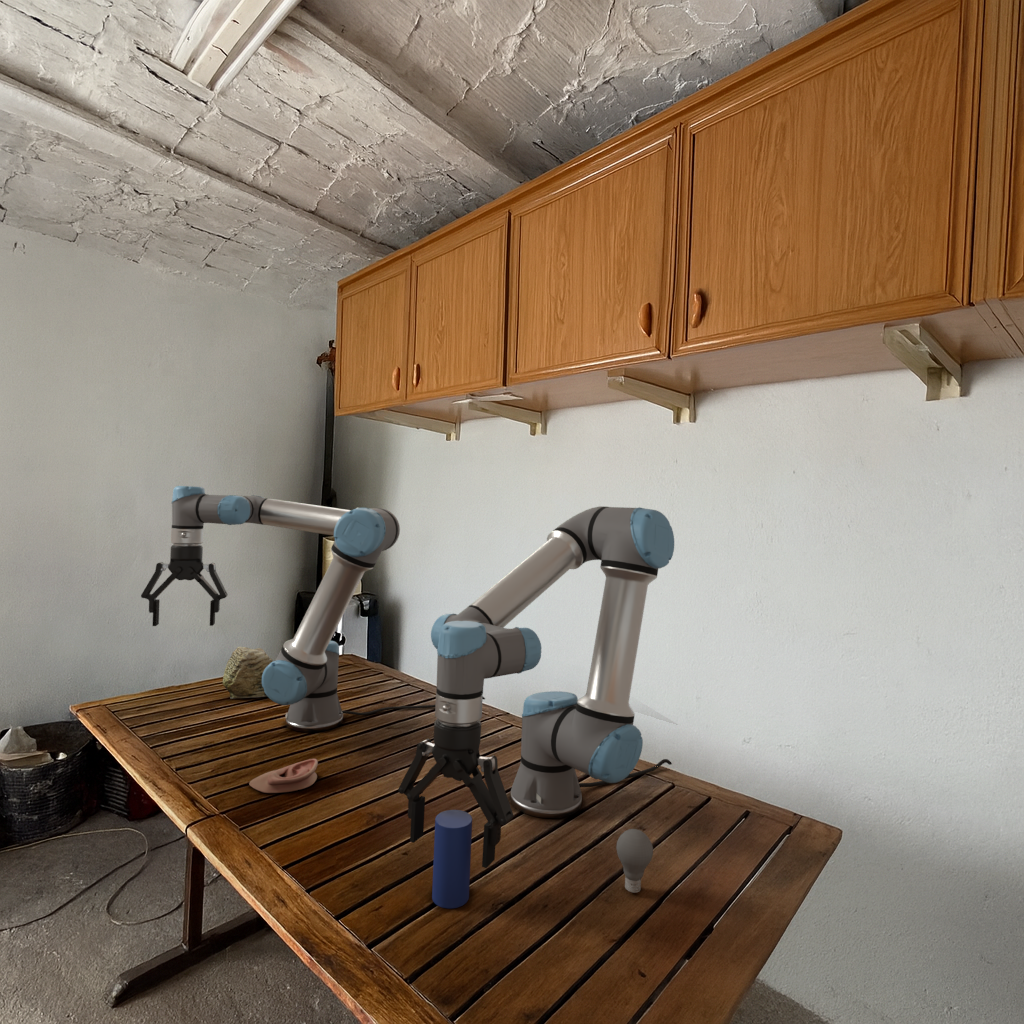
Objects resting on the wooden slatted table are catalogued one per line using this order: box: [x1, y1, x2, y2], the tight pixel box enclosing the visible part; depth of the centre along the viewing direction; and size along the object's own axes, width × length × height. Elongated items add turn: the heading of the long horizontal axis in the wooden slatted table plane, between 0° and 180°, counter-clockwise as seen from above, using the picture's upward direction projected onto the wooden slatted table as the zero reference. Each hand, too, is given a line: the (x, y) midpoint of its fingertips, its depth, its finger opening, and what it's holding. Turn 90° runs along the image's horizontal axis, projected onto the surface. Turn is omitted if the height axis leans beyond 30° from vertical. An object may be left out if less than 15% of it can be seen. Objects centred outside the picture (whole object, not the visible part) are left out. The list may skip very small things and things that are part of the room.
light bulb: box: [615, 828, 654, 894], centre depth 106 cm, size 6×6×10 cm
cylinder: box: [431, 809, 473, 909], centre depth 102 cm, size 6×6×13 cm
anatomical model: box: [248, 758, 319, 794], centre depth 139 cm, size 13×4×12 cm
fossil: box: [222, 646, 274, 699], centre depth 198 cm, size 9×18×15 cm, turn 132°
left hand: (184, 625), depth 167 cm, fingers open, 13 cm apart
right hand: (451, 850), depth 102 cm, fingers open, 13 cm apart
